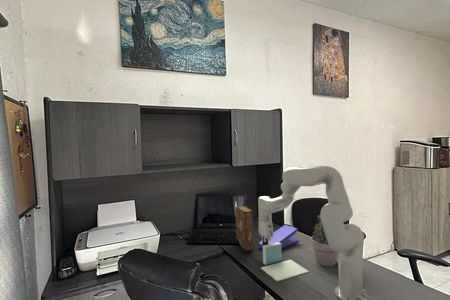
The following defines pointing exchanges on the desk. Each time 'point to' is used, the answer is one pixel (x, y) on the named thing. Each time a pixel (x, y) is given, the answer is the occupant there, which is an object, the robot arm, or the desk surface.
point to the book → (244, 227)
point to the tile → (272, 253)
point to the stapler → (283, 237)
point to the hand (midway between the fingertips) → (265, 247)
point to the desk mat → (284, 270)
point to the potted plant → (322, 247)
